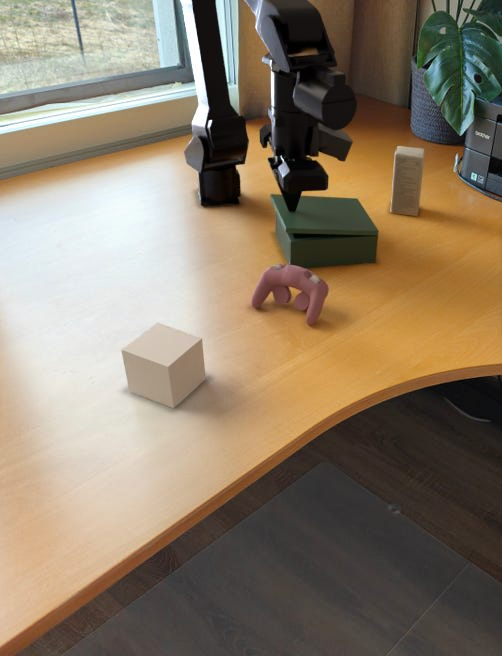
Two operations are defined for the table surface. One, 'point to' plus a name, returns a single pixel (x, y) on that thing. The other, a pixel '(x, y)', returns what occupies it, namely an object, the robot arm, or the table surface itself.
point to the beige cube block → (164, 364)
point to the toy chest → (325, 248)
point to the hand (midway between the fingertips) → (291, 210)
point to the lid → (324, 216)
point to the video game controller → (295, 277)
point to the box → (407, 180)
